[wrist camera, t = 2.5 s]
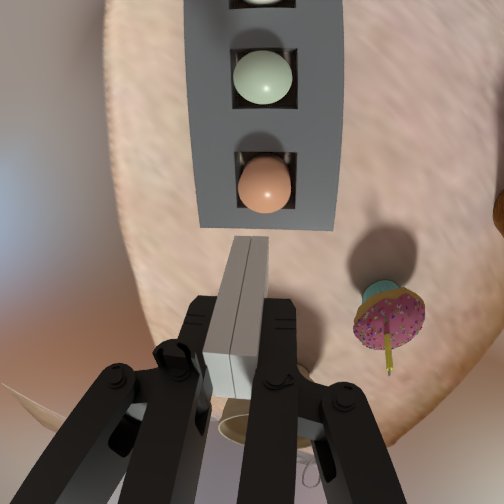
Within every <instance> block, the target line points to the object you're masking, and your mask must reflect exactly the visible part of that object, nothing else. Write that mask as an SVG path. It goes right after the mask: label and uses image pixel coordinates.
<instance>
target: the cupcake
mask: <svg viewBox="0 0 504 504" xmlns="http://www.w3.org/2000/svg"><path fill="white" fill-rule="evenodd" d="M424 320H425V304H424V301H423V300H422V299H421V298H420V297H419V296H418V295H417V294H416V293H414V292H412V291H410V290H409V289H407V288H404V287H401V288H400V287H399V286H397V284H395V283H394V282H392V281H389V280H382V281H378V282H375V283H373V284H372V285H370V286H369V287H368V288H367V289H366V291H365V292H364V294H363V298H362V305H361V306H360V307H359V308H358V310H357V314H356V317H355V319H354V326H353V331H354V334H355V337H357V338H358V339H359V340H360V341H361V342H362V344H363V345H365V346H366V347H370V348H371V349H373V350H385V355H386V369H387V371H388V376H390V371H391V370H393V361H392V351H391V349H394V348H397V347H400V346H402V345H403V344H406V343H407V342H409V341H410V340H411V339H412V338H413V337H414V336H415V335H417V334H418V332H419V330H421V328H422V327H421V326H422V324H423V322H424Z"/></svg>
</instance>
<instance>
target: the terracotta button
mask: <svg viewBox="0 0 504 504" xmlns="http://www.w3.org/2000/svg"><path fill="white" fill-rule="evenodd" d="M238 193H239V196H240V199H241V200H242V202H243V203H244V204H245V205H246V206H247V207H248V208H249V209H251V210H253V211H255V212H258V213H272V212H275V211H277V210H279V209H281V208H282V207H283V206H284V205H285V204H286V203H287V201H288V200H289V197H290V194H291V183H290V172H289V168H288V166H287V164H286V163H285V161H284V160H283V159H281V158H280V157H278V156H276V155H274V154H270V153H263V154H259V155H256V156H254V157H253V158H251V159H250V160H249V161H248V163H247V164H246V166H245V168H244V171H243V173H242V175H241V178H240V180H239V184H238Z"/></svg>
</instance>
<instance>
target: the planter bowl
mask: <svg viewBox="0 0 504 504" xmlns="http://www.w3.org/2000/svg"><path fill="white" fill-rule="evenodd" d="M297 367H298V369H299V371H300V373H301V374H302V375H303V376H304V377H305V378H306V379H308V380H309V381H312V382H314V381H313V380H312V379H311V378H310V377H309V373H308V372H307V370H306V369H305V368H304V367H302V366H300V365H299V364H297ZM314 383H315V382H314ZM249 407H250V399H237V398H236V397H235V398H228V400H227V402H226V404H225V407H224V410H223V414H222V417H221V419H220V421H219V424H218V429H219V432H220V433H221V434H222V435H223V436H224V437H226V438H227V439H229V440H231V441H233V442H236V443H238V444H241V445H245V438H246V431H247V423H248V415H249ZM311 446H312V445H311V441H310V439H308V438H304V437H301V436H298V435H297V449H302V448H307V447H311Z"/></svg>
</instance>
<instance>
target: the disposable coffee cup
mask: <svg viewBox="0 0 504 504" xmlns="http://www.w3.org/2000/svg"><path fill="white" fill-rule="evenodd" d="M493 221H494V224H495V226H496V228H497V229H498V230H499V232H500V233H501V234H502V236H503V237H504V190H503V191H502V193H501V194H500V195H499V197H498V199H497V201H496V203H495V206H494V211H493Z"/></svg>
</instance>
